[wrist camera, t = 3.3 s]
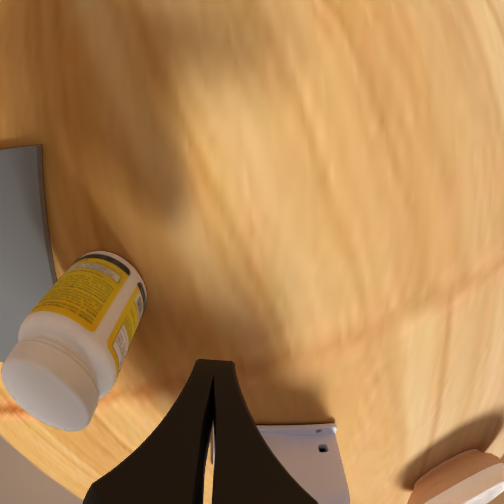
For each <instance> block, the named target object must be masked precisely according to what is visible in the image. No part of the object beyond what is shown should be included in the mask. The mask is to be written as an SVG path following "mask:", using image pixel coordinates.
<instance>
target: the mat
mask: <svg viewBox="0 0 504 504" xmlns="http://www.w3.org/2000/svg"><path fill="white" fill-rule="evenodd" d="M56 282H57V279H56V273H55V268H54V263H53V257H52V251H51V245H50V238H49V231H48V224H47V215H46V206H45V195H44V183H43V165H42V145H32V146H23V147H15V148H7V149H0V361H1V362H5V360H6V359H7V357H8V355H9V354H10V352H11V351H12V350H13V348H14V347H15V345H16V344H17V343H18V335H19V329H20V326H21V324H22V323H23V321H24V319H25V318H26V317H27V315H28V314H29V313H30V312H31V311H32V309H33V308H34V307H35V306H36V305H37V304H38V302H39V301H40V300H41V299H42V298H43V297H44V295H45V294H46V293H47V292H48V291H49V290H50V289H51V288H52V286H53V285H54V284H55V283H56Z"/></svg>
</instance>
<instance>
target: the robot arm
mask: <svg viewBox="0 0 504 504" xmlns="http://www.w3.org/2000/svg"><path fill="white" fill-rule="evenodd" d="M212 423H214V426H213V470H214V475H213V492H212V504H350V496H349V490H348V485H347V481H346V477H345V473H344V469H343V464H342V460H341V456H340V452H339V448H338V444H337V440H336V436H335V432H336V430H337V426H336V424H334V423H329V424H312V425H276V426H264V425H256V424H255V422H254V420H253V418H252V416H251V414H250V412H249V410H248V408H247V405H246V403H245V400H244V398H243V395H242V393H241V390H240V387H239V383H238V380H237V376H236V371H235V364H234V363H233V362H232V361H220V360H206V359H198V360H197V361H196V363H195V366H194V368H193V371H192V373H191V375H190V377H189V379H188V381H187V383H186V385H185V387H184V388H183V390H182V392H181V393H180V395H179V397H178V398H177V400H176V402H175V403H174V405H173V406H172V407H171V409H170V410H169V412H168V413H167V415H166V416H165V417H164V419H163V420H162V421H161V423H160V424H159V425H158V426H157V428H156V429H155V430H154V431H153V432H152V433H151V435H150V436H149V437H148V438H147V439H146V440H145V441H144V442H143V443H142V444H141V445H140V446H139V447H138V448H137V449H136V450H135V451H134V452H133V453H132V454H131V455H129V456H128V457H127V458H126V459H125V460H124V461H122V462H121V463H120V464H119V465H118V466H117V467H115V468H114V469H113V470H111V471H110V472H108V473H107V474H106V475H104V476H103V477H101V478H100V479H98V480H97V481H95V482H94V483H92V485H91V486H90V488H89V490H88V492H87V494H86V496H85V498H84V501H83V504H203V493H204V474H205V466H206V459H207V453H208V447H209V441H210V435H211V429H212Z"/></svg>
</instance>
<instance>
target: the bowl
mask: <svg viewBox="0 0 504 504" xmlns="http://www.w3.org/2000/svg"><path fill="white" fill-rule="evenodd" d="M503 491H504V464H503V463H502V461H501V460H500V459H499V458H498V457H497V456H495V455H493V454H491V453H485V452H479V450H478V449H471V450H468V451H465V452H462V453H460V454H458V455H456V456H454V457H452V458H450V459H448V460H446V461H444V462H443V463H441V464H439V465H438V466H436V467H434V468H433V469H431V470H430V471H428V472H427V473H426V474H424V475H423V476H422V477H421V478H420V479H418V480H417V482H416V483H415V484H414V490H413V492H412V494H411V496H410V498H409V500H408V503H407V504H487V503H488V502H490V501H491V500H493V499H494V498H495V497H497V496H498V495H499V494H500V493H502V492H503Z"/></svg>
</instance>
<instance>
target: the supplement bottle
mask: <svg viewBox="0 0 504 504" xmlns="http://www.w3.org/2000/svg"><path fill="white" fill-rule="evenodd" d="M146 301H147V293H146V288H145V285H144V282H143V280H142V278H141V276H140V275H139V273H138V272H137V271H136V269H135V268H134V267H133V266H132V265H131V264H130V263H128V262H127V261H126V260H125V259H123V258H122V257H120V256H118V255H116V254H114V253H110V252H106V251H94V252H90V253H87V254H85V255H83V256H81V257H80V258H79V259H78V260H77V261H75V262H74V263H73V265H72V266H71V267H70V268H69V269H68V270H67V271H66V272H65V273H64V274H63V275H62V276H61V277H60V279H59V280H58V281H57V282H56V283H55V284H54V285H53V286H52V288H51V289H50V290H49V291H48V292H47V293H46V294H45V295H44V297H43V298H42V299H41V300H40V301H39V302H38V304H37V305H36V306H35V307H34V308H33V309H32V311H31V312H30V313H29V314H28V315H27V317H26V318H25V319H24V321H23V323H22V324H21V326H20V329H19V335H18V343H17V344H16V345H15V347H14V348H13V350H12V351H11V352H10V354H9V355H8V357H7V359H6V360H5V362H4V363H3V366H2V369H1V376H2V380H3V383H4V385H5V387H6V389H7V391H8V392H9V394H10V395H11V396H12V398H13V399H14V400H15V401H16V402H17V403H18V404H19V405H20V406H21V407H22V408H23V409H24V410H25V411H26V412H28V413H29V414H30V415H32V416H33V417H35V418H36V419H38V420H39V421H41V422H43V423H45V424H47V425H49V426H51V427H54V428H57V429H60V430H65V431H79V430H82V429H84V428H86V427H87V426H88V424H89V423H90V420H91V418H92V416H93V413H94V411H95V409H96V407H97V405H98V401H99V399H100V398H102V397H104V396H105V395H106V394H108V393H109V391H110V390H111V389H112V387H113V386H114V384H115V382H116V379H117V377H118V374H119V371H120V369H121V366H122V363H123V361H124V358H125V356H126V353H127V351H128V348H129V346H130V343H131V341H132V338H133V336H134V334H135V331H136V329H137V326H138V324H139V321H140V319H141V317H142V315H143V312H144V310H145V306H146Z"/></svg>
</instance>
